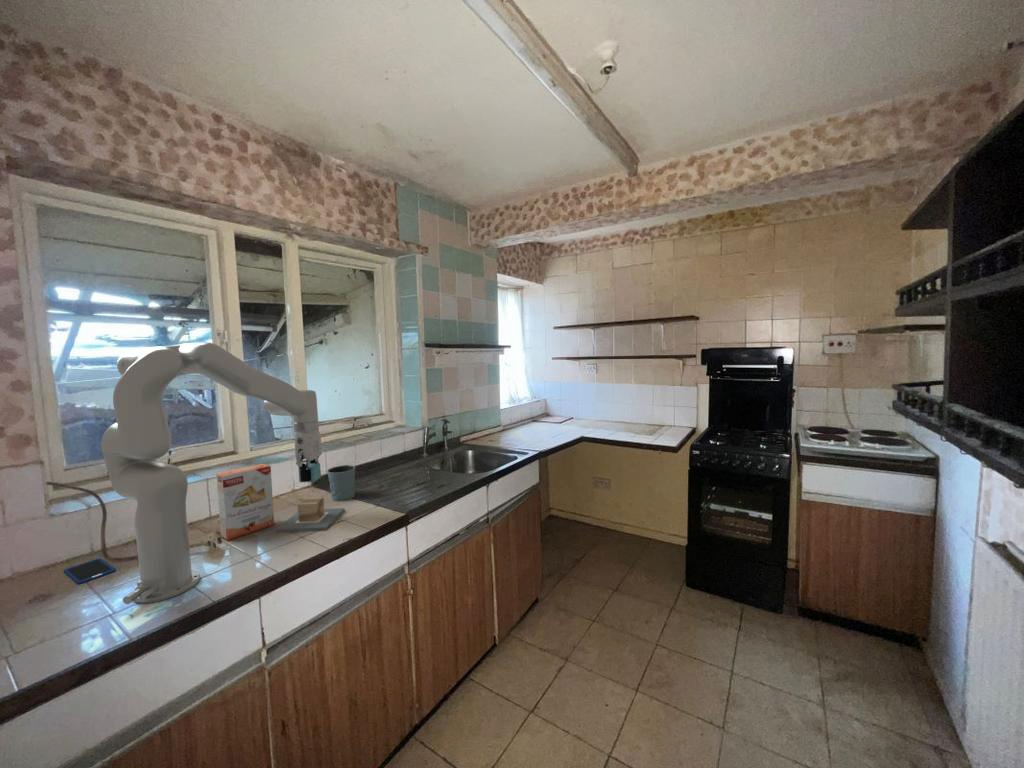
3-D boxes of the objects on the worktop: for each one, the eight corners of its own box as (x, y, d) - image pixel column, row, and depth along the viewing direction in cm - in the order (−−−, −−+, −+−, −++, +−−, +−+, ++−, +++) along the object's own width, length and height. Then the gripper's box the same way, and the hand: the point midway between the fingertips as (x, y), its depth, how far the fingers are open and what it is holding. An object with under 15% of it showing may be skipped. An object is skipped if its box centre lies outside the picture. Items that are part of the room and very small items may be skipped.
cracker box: (227, 541, 123) (221, 476, 121) (220, 536, 126) (214, 473, 125) (275, 525, 134) (271, 465, 132) (267, 521, 138) (263, 462, 136)
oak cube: (316, 520, 134) (315, 503, 133) (298, 521, 134) (297, 504, 133) (324, 513, 140) (323, 497, 139) (307, 514, 140) (306, 498, 139)
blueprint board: (325, 530, 129) (325, 526, 129) (276, 532, 129) (275, 528, 128) (344, 510, 145) (344, 507, 145) (300, 512, 144) (300, 509, 144)
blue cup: (361, 493, 163) (359, 465, 162) (348, 502, 153) (346, 472, 152) (337, 493, 164) (336, 465, 163) (324, 502, 154) (322, 472, 153)
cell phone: (78, 586, 101) (78, 583, 101) (62, 572, 108) (62, 569, 108) (117, 572, 107) (117, 569, 107) (100, 559, 114) (100, 557, 114)
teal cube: (314, 481, 133) (313, 467, 133) (299, 482, 133) (298, 468, 133) (321, 477, 138) (320, 463, 138) (306, 477, 138) (305, 463, 138)
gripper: (305, 431, 126) (309, 486, 127) (328, 421, 143) (331, 470, 144) (281, 431, 126) (285, 487, 127) (307, 422, 143) (310, 471, 144)
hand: (310, 477), depth 136 cm, fingers closed on teal cube, 4 cm apart
